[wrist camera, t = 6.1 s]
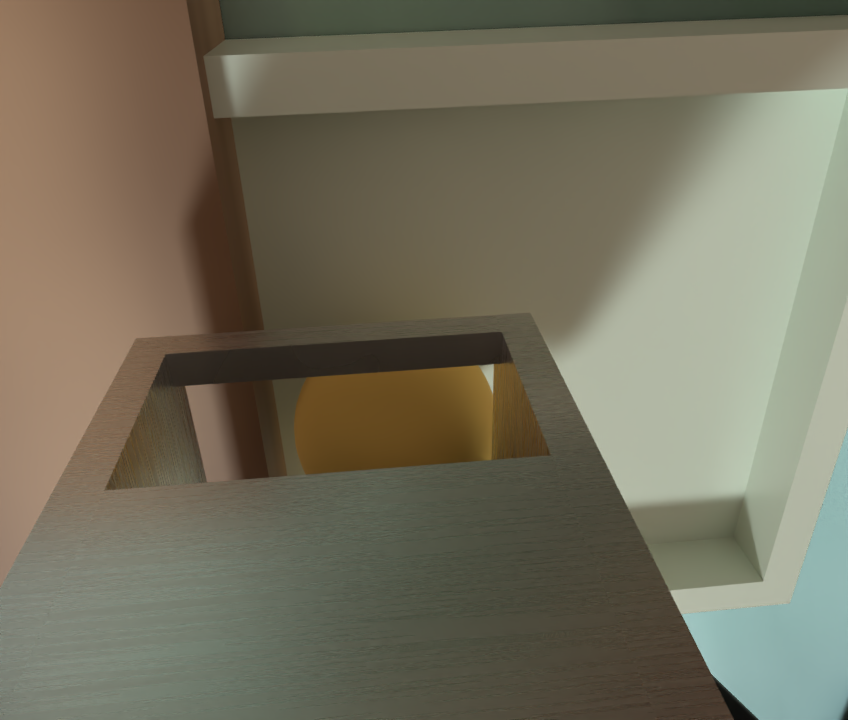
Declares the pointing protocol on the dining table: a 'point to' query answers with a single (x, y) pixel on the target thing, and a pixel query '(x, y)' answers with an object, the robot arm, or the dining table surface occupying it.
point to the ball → (393, 419)
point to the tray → (587, 244)
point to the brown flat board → (115, 235)
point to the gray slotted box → (343, 559)
